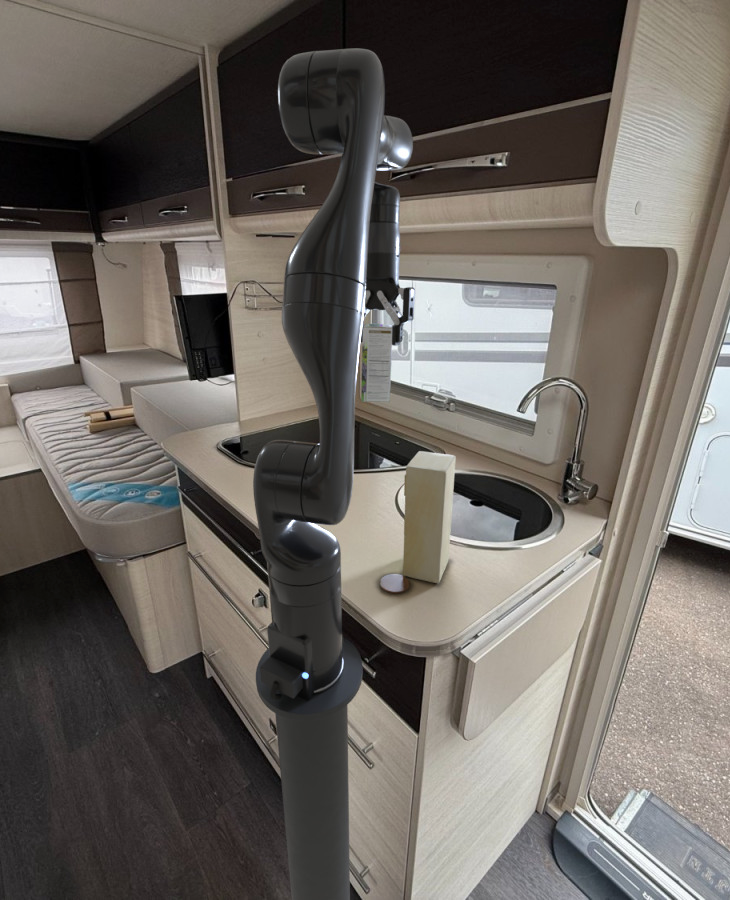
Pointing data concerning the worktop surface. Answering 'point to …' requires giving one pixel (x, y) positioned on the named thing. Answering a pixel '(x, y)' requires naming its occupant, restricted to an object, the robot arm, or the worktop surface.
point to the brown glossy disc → (394, 583)
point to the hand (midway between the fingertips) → (377, 343)
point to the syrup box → (376, 363)
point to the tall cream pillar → (428, 515)
